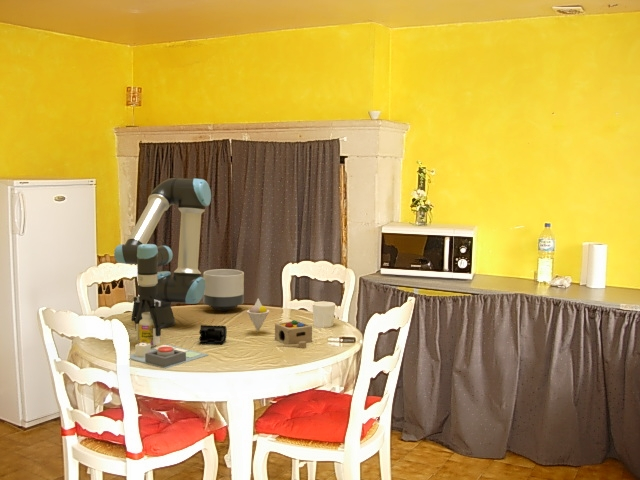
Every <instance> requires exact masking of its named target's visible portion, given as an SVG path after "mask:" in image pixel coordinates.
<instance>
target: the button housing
mask: <svg viewBox="0 0 640 480" xmlns="http://www.w3.org/2000/svg"><path fill="white" fill-rule="evenodd" d="M183 361H186V352H182V351H178V350H174V354H173V355H170V356H167V357H163V356H159V355H157V350H156V351H153V352H149V353H145V362H148V363H152V364H155V365H159V366H162V367H167V366H170V365H173V364H177V363H180V362H183ZM162 367H161V368H162Z"/></svg>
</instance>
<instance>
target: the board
mask: <svg viewBox="0 0 640 480" xmlns="http://www.w3.org/2000/svg"><path fill="white" fill-rule="evenodd" d="M160 347H172V348H173V349H174V350H178V351H182V352H186V361H183V362H180V363H177V364H173V365H170V366H167V367H162V366H159V365H155V364H152V363H148V362H145V357H140V356H135V352H134V353H132V354H129V355H130V359H131V360H130V359H129V360H130V361H134V362H139V363H142V364H146V365H150V366H153V367H154V366H155V367H157V368H158V367H159V368H162V369H169V368H172V367H175V366H179V365H182V364H185V363H188V362H192V361H194V360H198V359H201V358H205V357H208V356H209V354H208V353H203V352H199V351H196V350H192V349H187V348H183V347H180V346H175V345H173V344H172V345H171V344H169V343H167V344H162V345H159V346H154V347H152V348H151V352H153V351H156V350H158V348H160Z"/></svg>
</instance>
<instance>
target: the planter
mask: <svg viewBox="0 0 640 480" xmlns="http://www.w3.org/2000/svg"><path fill="white" fill-rule="evenodd" d="M202 278H204V279H205V292H204V295H203V297H202V299H203V301H202V303H203V304H204V305H207V306H208V307H210V308H212V309H214V310H217V311H229V310H233V309H235V308H237V307H238V306H240V305H243V304H244V302H245V300H244V298H245V297H244V295H245V294H244V292H245V287H244V284H245V283H244V282H245V272H244V271H242V270H238V269H230V268H228V269H227V268H220V269H219V268H218V269H217V268H216V269H208V270H204V272H203V276H202Z"/></svg>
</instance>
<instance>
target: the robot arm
mask: <svg viewBox="0 0 640 480" xmlns="http://www.w3.org/2000/svg"><path fill="white" fill-rule="evenodd" d="M211 200H212V192H211V187H210V185H209V183H208V182H207V181H206V180H205V179H203V178H195V177H194V178H190V177H189V178H181V177H179V178H177V177H172V178H168V179H166V180H164V181H162V182H161V183H159V184H158V185H157V186H156V187H154V189H153V190H152V191H151V193H150V194H149V195H148V198H147V205H145V208H144V210H143V211H142V213H141V215H140V217H139V218H138V220H137V222H136V224H135V226H134V228H133V229H132V231H131V233H130V234H129V237H128V238H127V240H126V241H125V243H124V244H123V243H122V244H118V245H117V246H116V247H115V248H114V253H113V254H114V259H115V261H116V263H120V264H126V265H137V268H136V269H137V273H136V274H137V295H138V296H134V297H133V298H132V299H133V306H132V311H131V314H132V315H131V321H132V322H134V324H135V336H136V337H135V340H136V341H138V342H139V321H140V320H141V319H142V313H144V312H150V314H151V317H152V320H153V323H154V326H155V327H153V345H156V344H157V345H159V344H161V333H162V331H161V330H162V329H165V328H170V327H174V326H175V324H176V318H175V316H174V312H173V309H172V303H173V304H174V303H176V304H186V305H191V304H192V305H194V304H198V303H199V302H200V301H201V300H202V299H203V295H204V292H205V279H204V278H203V276H202V272H201V271H200V270H199V257H200V256H199V255H200V242H201V241H200V240H201V239H200V237H201V225H202V214H203V213H204V212H205V211H206V207H208V206H210V204H211ZM173 205H174V206H177V209H178V210H179V212H180V228H179V229H180V231H179V243H178V245H179V246H178V256H177V257H178V259H177V268H176V269H175V270H174V271H173V275H172V273H171V271H168V270H164V271H163V270H162V271H158V267H161V266H165V265H167V264H169V263H170V262H171V261H172V259H173V256H174V255H173V251H172V248H170V247H169V246H168V245H159V246H157V245H156V244H153V243H148V242H149V240H150V239H151V237H152V235H153V234H154V231H155V229H156V227H157V225H159V222H160V220H161V218H162V216H163V214H164V213H165V212H166V211H168V210H169V208H170V207H171V206H173ZM157 345H156V346H157Z"/></svg>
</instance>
